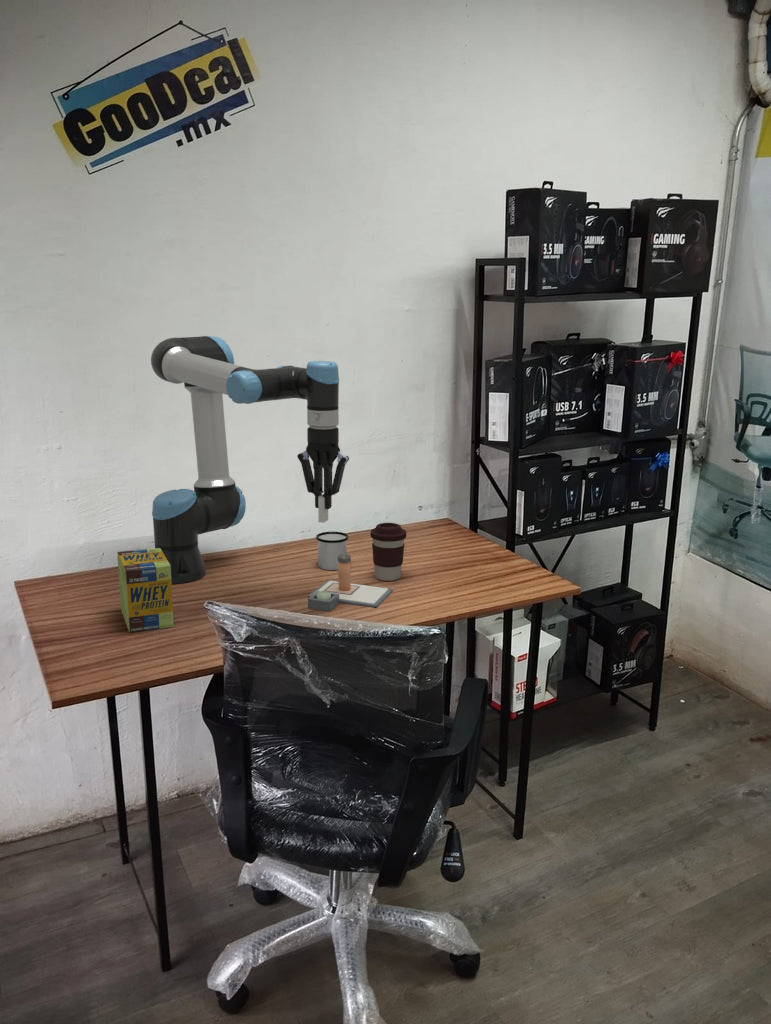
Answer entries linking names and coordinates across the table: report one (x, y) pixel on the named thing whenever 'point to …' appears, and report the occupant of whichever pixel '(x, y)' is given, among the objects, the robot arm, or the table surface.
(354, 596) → the picture board
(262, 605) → the table surface
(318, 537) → the mug
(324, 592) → the button
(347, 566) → the marker
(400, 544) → the coffee cup
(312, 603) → the button housing
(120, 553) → the protein box
